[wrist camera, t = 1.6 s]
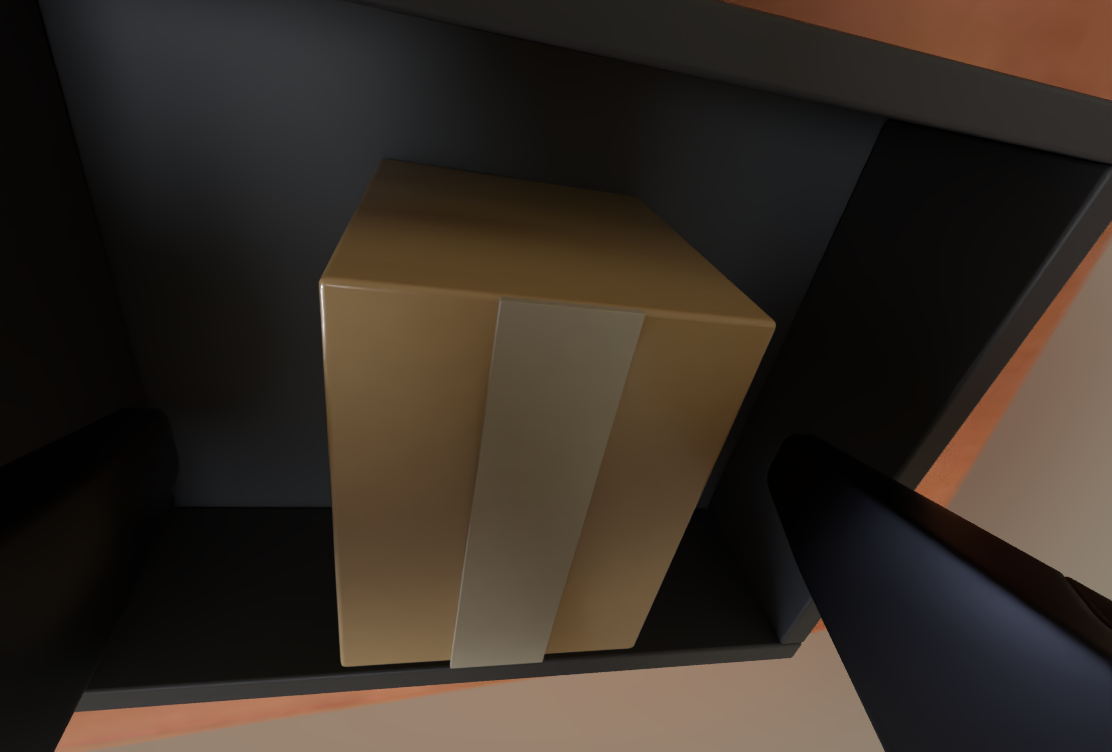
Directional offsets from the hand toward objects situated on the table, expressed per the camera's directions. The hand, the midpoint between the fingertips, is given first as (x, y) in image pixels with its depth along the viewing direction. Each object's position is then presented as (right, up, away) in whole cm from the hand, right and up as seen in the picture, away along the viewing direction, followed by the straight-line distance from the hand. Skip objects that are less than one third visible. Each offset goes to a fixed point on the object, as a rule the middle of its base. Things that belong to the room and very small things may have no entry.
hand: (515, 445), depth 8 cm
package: (-1, +2, +3) cm, 4 cm away
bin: (-1, +2, +3) cm, 4 cm away
